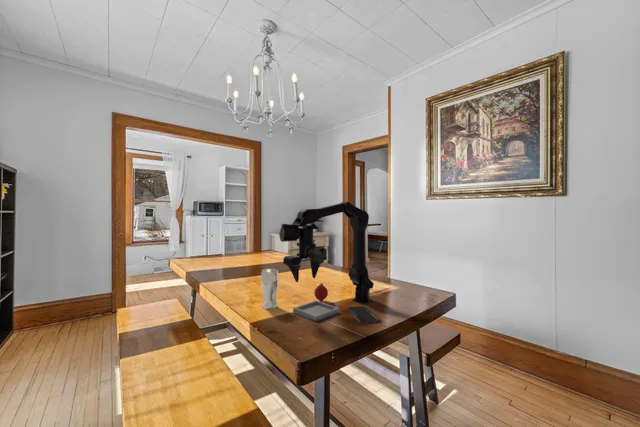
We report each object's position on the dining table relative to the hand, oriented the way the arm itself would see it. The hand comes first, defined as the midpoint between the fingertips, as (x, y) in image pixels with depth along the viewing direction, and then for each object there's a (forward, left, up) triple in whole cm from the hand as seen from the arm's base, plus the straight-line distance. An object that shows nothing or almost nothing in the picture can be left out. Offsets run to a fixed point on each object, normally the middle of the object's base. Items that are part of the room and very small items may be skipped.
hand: (305, 279), depth 111 cm
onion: (-12, -3, -12) cm, 17 cm away
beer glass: (+8, -13, -12) cm, 20 cm away
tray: (-1, +5, -12) cm, 13 cm away
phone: (-12, +19, -13) cm, 26 cm away
